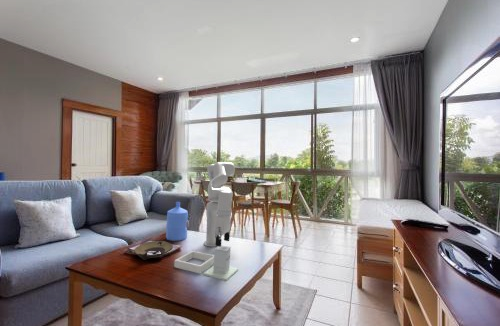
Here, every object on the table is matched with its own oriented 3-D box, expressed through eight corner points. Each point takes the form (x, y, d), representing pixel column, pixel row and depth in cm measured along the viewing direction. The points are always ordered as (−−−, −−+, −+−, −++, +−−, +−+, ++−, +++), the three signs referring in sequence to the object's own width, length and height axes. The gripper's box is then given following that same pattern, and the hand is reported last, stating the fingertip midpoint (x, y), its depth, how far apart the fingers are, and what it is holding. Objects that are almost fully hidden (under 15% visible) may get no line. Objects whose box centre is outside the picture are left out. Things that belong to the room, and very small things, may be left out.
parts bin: (192, 256, 160) (192, 250, 160) (216, 262, 154) (216, 255, 153) (174, 267, 144) (174, 260, 144) (200, 273, 137) (200, 266, 137)
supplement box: (225, 274, 136) (226, 250, 136) (212, 272, 138) (213, 249, 138) (229, 268, 143) (230, 246, 143) (217, 266, 145) (218, 244, 145)
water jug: (175, 242, 185) (177, 204, 184) (161, 238, 193) (163, 201, 193) (191, 237, 198) (192, 202, 198) (177, 233, 206) (179, 199, 206)
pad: (216, 265, 149) (216, 263, 149) (237, 270, 144) (238, 268, 144) (203, 274, 136) (203, 272, 136) (226, 280, 131) (226, 278, 131)
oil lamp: (180, 252, 167) (180, 240, 167) (143, 269, 140) (144, 255, 139) (154, 246, 176) (155, 235, 176) (116, 260, 149) (116, 247, 149)
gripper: (225, 209, 149) (223, 237, 150) (210, 215, 133) (208, 247, 134) (236, 210, 146) (235, 240, 147) (222, 217, 130) (221, 249, 131)
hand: (222, 243), depth 140 cm, fingers open, 9 cm apart
